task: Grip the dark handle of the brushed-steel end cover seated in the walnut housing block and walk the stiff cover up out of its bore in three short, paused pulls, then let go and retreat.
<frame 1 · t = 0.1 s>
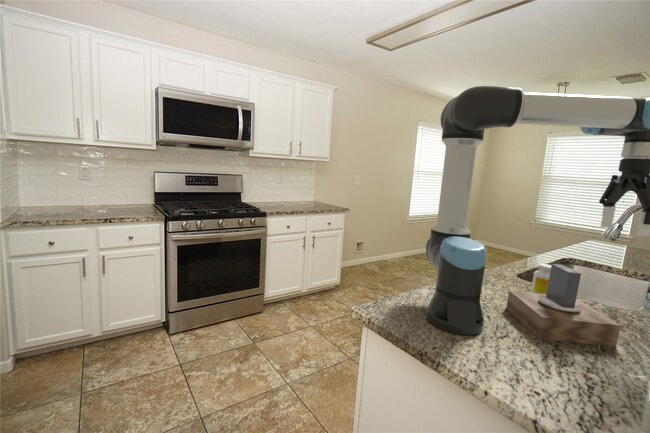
hand: (622, 231, 96), 28 cm above the worktop, tool pointing down, fingers open, 13 cm apart
housing: (555, 325, 94), on the worktop
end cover: (560, 295, 92), point 9 cm above the worktop, slide at 0.0 cm
supplement bottle: (540, 301, 112), on the worktop
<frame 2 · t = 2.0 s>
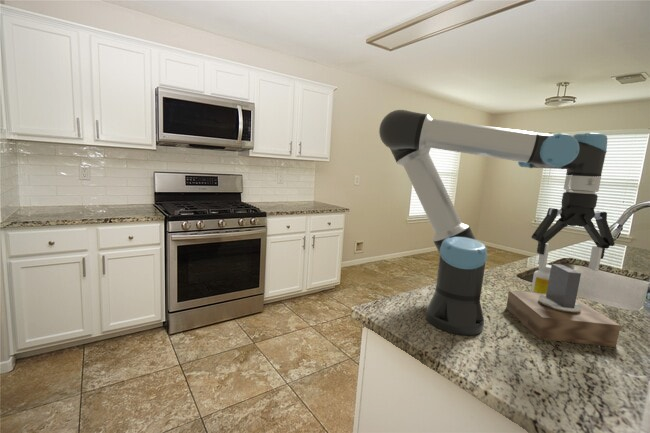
hand: (567, 267, 91), 17 cm above the worktop, tool pointing down, fingers open, 13 cm apart
nothing on the worktop moved.
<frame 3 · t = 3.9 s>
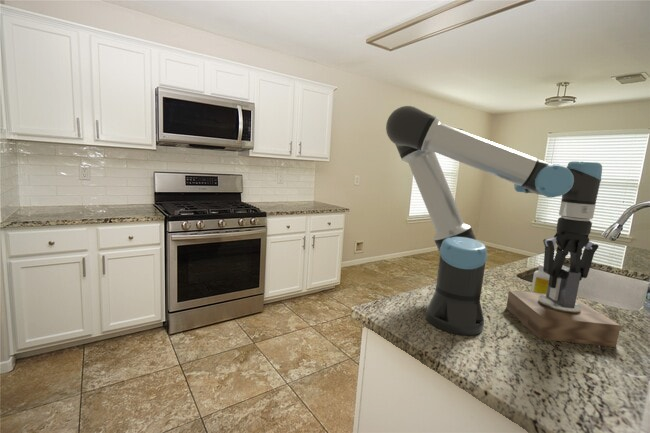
hand: (560, 299, 93), 8 cm above the worktop, tool pointing down, fingers closed on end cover, 3 cm apart
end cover: (560, 295, 92), point 9 cm above the worktop, slide at 0.0 cm, touching gripper
everything else where it was.
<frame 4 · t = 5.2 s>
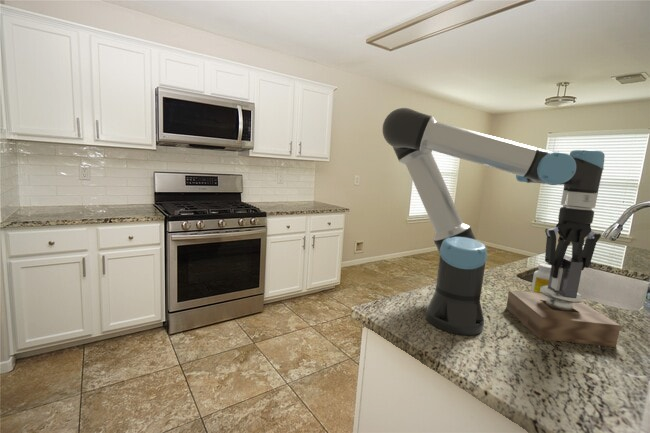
hand: (561, 289, 92), 11 cm above the worktop, tool pointing down, fingers closed on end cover, 3 cm apart
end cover: (562, 285, 92), point 12 cm above the worktop, slide at 3.0 cm, touching gripper
everything else where it was.
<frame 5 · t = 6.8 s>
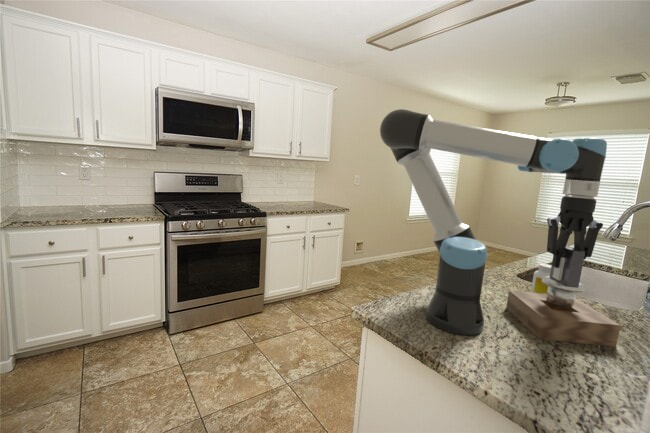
hand: (563, 279, 92), 14 cm above the worktop, tool pointing down, fingers closed on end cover, 3 cm apart
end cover: (564, 275, 92), point 15 cm above the worktop, slide at 6.0 cm, touching gripper
everything else where it was.
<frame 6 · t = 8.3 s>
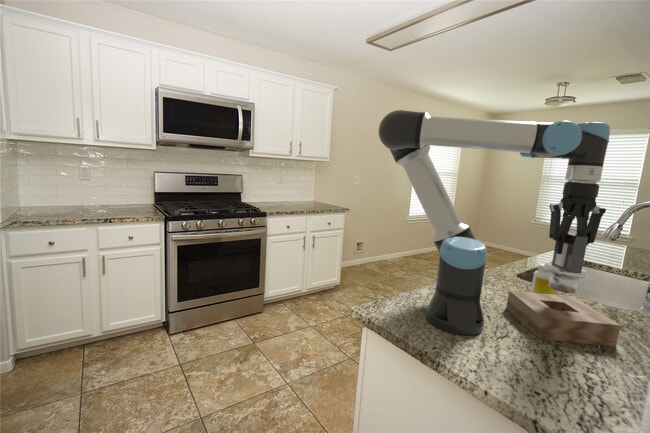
hand: (566, 265, 91), 18 cm above the worktop, tool pointing down, fingers closed on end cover, 3 cm apart
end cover: (567, 261, 91), point 19 cm above the worktop, slide at 10.0 cm, touching gripper
everything else where it was.
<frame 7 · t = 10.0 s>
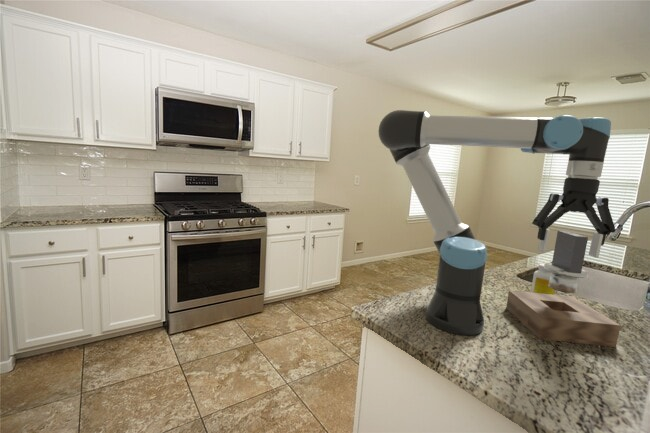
hand: (567, 254, 91), 21 cm above the worktop, tool pointing down, fingers open, 13 cm apart
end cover: (567, 261, 91), point 19 cm above the worktop, slide at 10.0 cm
everything else where it was.
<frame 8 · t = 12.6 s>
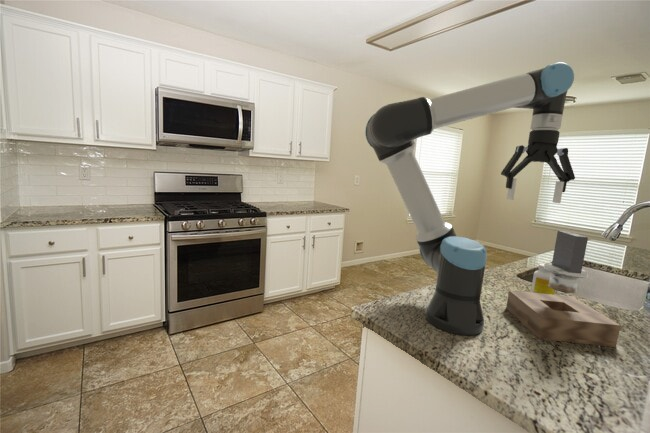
hand: (532, 201, 100), 35 cm above the worktop, tool pointing down, fingers open, 13 cm apart
nothing on the worktop moved.
at the end: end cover slide at 10.0 cm; the gripper is holding nothing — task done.
